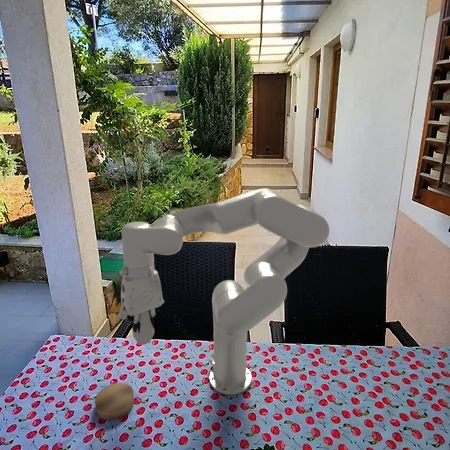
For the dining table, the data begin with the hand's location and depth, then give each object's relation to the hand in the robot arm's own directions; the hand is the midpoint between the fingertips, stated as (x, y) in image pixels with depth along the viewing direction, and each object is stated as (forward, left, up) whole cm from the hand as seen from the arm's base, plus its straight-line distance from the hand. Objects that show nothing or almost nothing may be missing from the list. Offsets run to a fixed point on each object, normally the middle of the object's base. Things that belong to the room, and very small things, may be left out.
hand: (143, 330), depth 94 cm
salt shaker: (0, 0, -3) cm, 3 cm away
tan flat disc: (0, -10, -20) cm, 22 cm away
